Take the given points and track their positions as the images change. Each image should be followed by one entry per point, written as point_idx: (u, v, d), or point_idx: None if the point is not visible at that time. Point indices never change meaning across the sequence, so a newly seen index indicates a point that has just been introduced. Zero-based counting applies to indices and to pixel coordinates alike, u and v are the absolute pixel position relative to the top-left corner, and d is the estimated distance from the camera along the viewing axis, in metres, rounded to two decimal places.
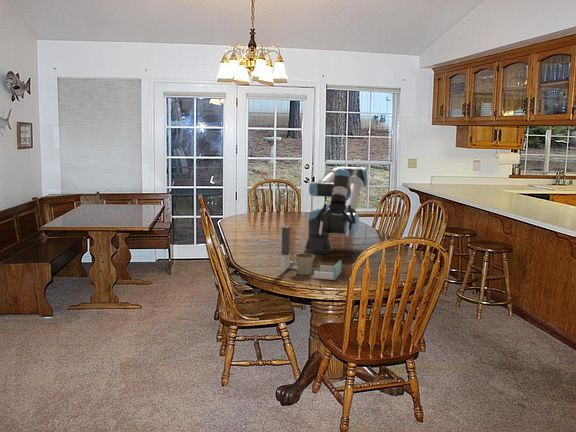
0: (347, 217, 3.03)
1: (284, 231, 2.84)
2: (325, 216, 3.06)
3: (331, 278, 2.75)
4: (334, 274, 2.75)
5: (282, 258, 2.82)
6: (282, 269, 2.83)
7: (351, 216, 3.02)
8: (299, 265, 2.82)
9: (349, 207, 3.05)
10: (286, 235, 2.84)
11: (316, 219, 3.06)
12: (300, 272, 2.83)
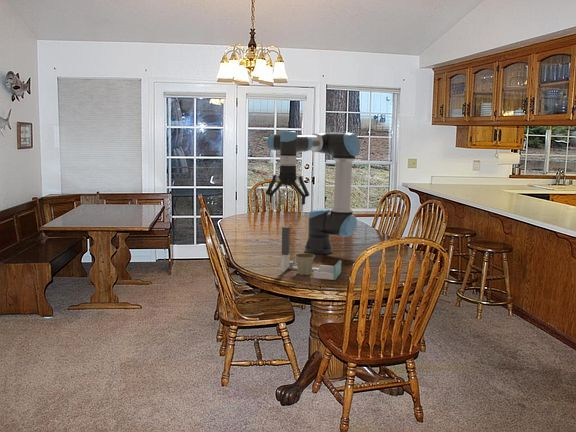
0: (299, 191, 2.80)
1: (284, 231, 2.84)
2: (276, 190, 2.83)
3: (331, 278, 2.75)
4: (334, 274, 2.75)
5: (282, 258, 2.82)
6: (282, 269, 2.83)
7: (303, 190, 2.79)
8: (299, 265, 2.82)
9: (300, 179, 2.79)
10: (286, 235, 2.84)
11: (267, 194, 2.84)
12: (300, 272, 2.83)
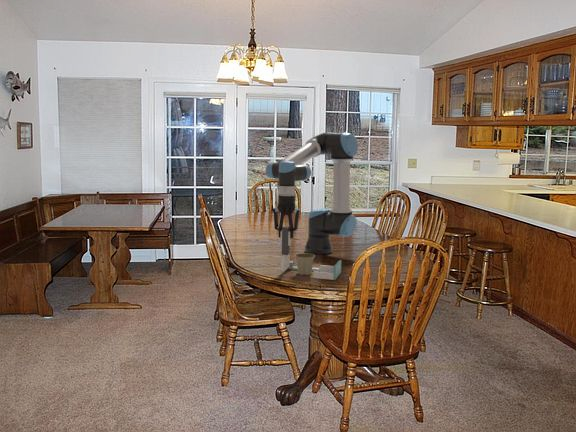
0: (290, 224, 2.83)
1: (284, 231, 2.84)
2: (282, 223, 2.84)
3: (331, 278, 2.75)
4: (334, 274, 2.75)
5: (282, 258, 2.82)
6: (282, 269, 2.83)
7: (294, 223, 2.82)
8: (299, 265, 2.82)
9: (297, 212, 2.81)
10: (286, 235, 2.84)
11: (276, 229, 2.85)
12: (300, 272, 2.83)
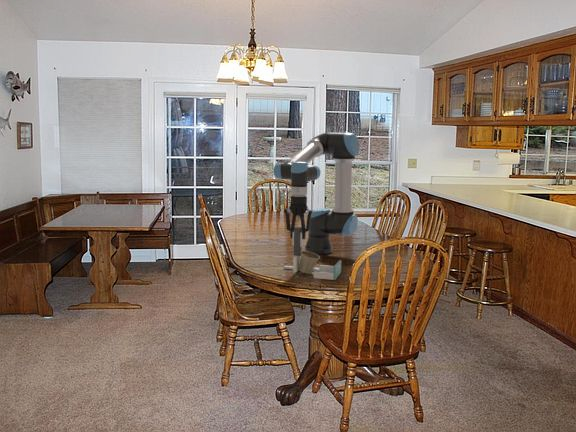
0: (302, 225, 2.81)
1: (296, 232, 2.82)
2: (294, 223, 2.83)
3: (331, 278, 2.75)
4: (334, 274, 2.75)
5: (294, 259, 2.81)
6: (294, 270, 2.81)
7: (306, 224, 2.81)
8: (302, 263, 2.82)
9: (309, 213, 2.80)
10: (298, 236, 2.82)
11: (288, 229, 2.83)
12: (301, 270, 2.83)
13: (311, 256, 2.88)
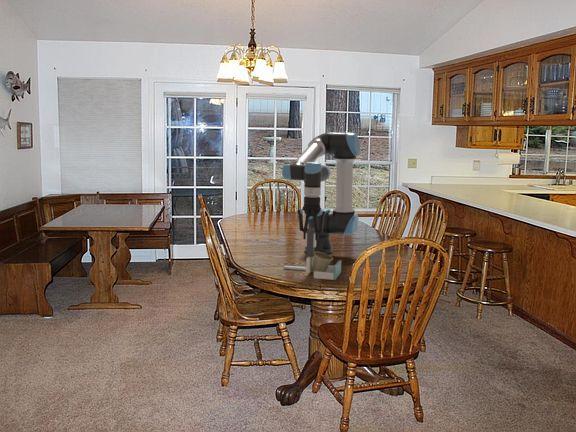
0: (315, 226, 2.80)
1: (309, 233, 2.81)
2: (307, 224, 2.81)
3: (331, 278, 2.75)
4: (334, 274, 2.75)
5: (307, 260, 2.79)
6: (307, 271, 2.80)
7: (319, 225, 2.79)
8: (315, 264, 2.80)
9: (322, 214, 2.78)
10: (311, 237, 2.81)
11: (301, 230, 2.82)
12: None
13: (324, 257, 2.86)
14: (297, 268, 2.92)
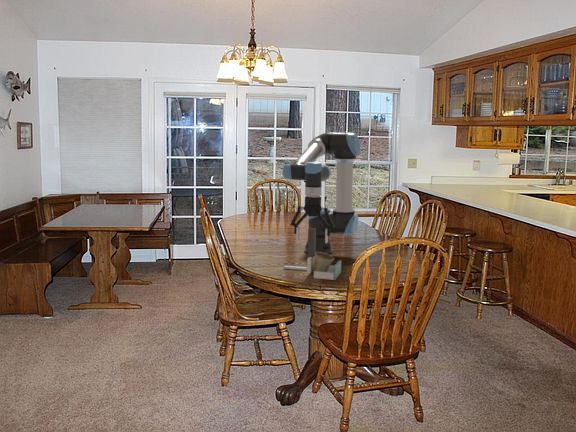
0: (324, 223, 2.78)
1: (310, 233, 2.81)
2: (301, 221, 2.81)
3: (331, 278, 2.75)
4: (334, 274, 2.75)
5: (308, 260, 2.79)
6: (308, 271, 2.80)
7: (328, 221, 2.78)
8: (316, 264, 2.80)
9: (325, 210, 2.77)
10: (312, 237, 2.81)
11: None
12: None
13: (325, 257, 2.86)
14: (297, 268, 2.92)
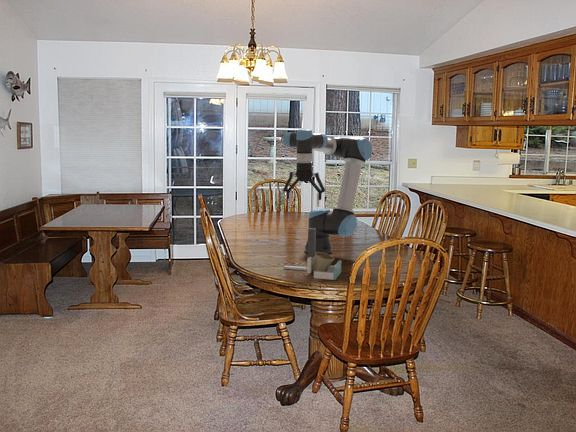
0: (315, 187, 2.91)
1: (310, 233, 2.81)
2: (293, 186, 2.94)
3: (331, 278, 2.75)
4: (334, 274, 2.75)
5: (308, 260, 2.79)
6: (308, 271, 2.80)
7: None
8: (316, 264, 2.80)
9: (316, 175, 2.90)
10: (312, 237, 2.81)
11: None
12: None
13: (325, 257, 2.86)
14: (297, 268, 2.92)
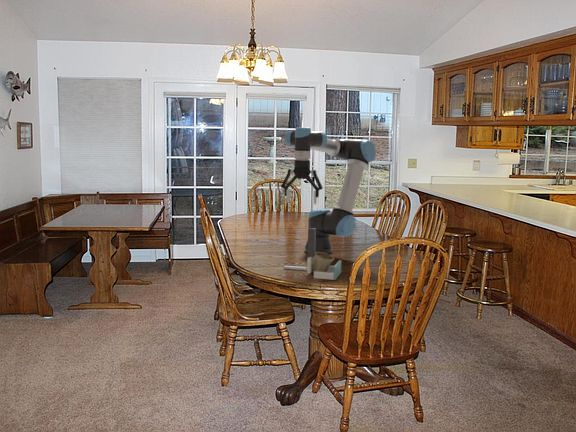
0: (313, 185, 2.94)
1: (310, 233, 2.81)
2: (290, 184, 2.97)
3: (331, 278, 2.75)
4: (334, 274, 2.75)
5: (308, 260, 2.79)
6: (308, 271, 2.80)
7: (317, 183, 2.93)
8: (316, 264, 2.80)
9: (314, 173, 2.93)
10: (312, 237, 2.81)
11: (282, 187, 2.98)
12: None
13: (325, 257, 2.86)
14: (297, 268, 2.92)
